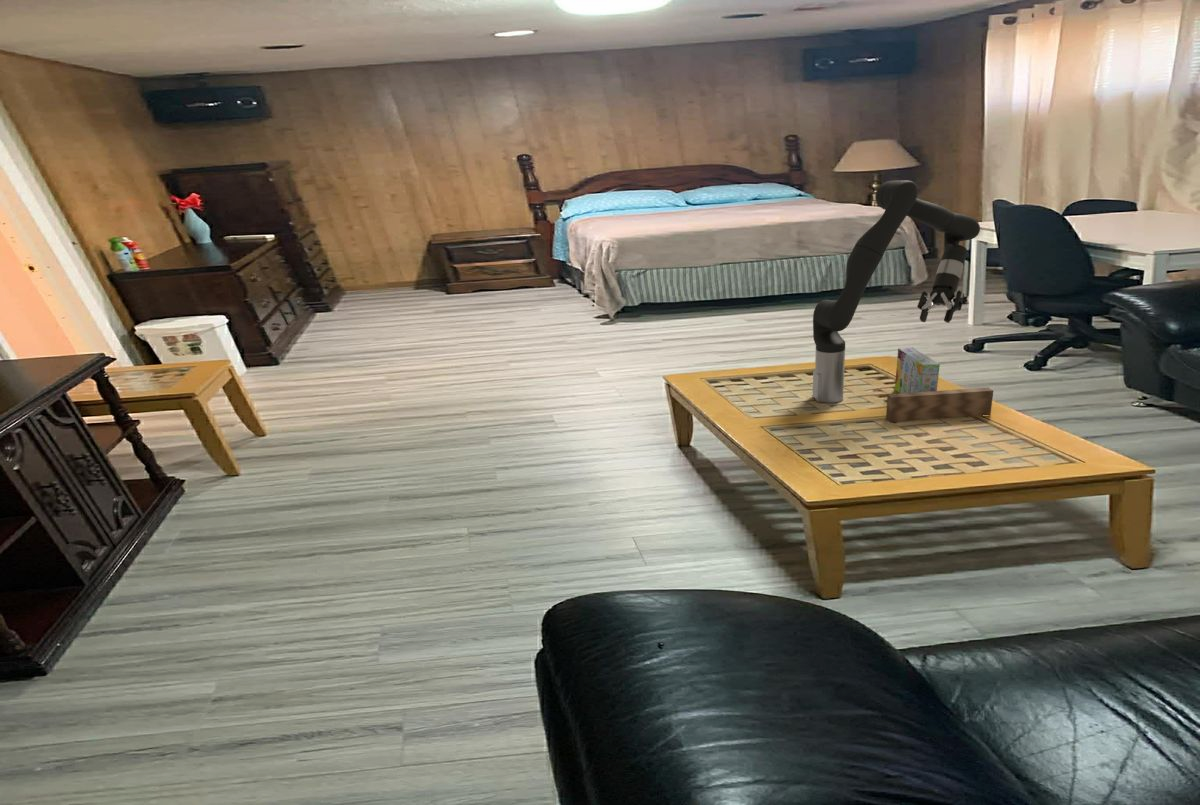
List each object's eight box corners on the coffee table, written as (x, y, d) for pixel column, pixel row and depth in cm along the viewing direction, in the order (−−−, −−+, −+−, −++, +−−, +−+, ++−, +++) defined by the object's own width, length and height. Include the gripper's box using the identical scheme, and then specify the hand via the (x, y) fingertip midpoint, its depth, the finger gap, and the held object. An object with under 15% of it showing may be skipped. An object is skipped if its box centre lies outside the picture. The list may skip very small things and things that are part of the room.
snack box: (936, 409, 214) (941, 363, 209) (918, 411, 214) (922, 364, 209) (910, 388, 234) (913, 346, 229) (893, 389, 234) (896, 347, 229)
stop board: (889, 422, 207) (891, 397, 204) (885, 418, 210) (887, 394, 207) (990, 415, 206) (993, 390, 203) (985, 412, 209) (988, 387, 206)
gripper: (922, 272, 232) (908, 317, 231) (962, 270, 220) (948, 317, 219) (934, 281, 236) (921, 325, 235) (974, 279, 224) (960, 326, 223)
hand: (934, 321), depth 227 cm, fingers open, 8 cm apart
